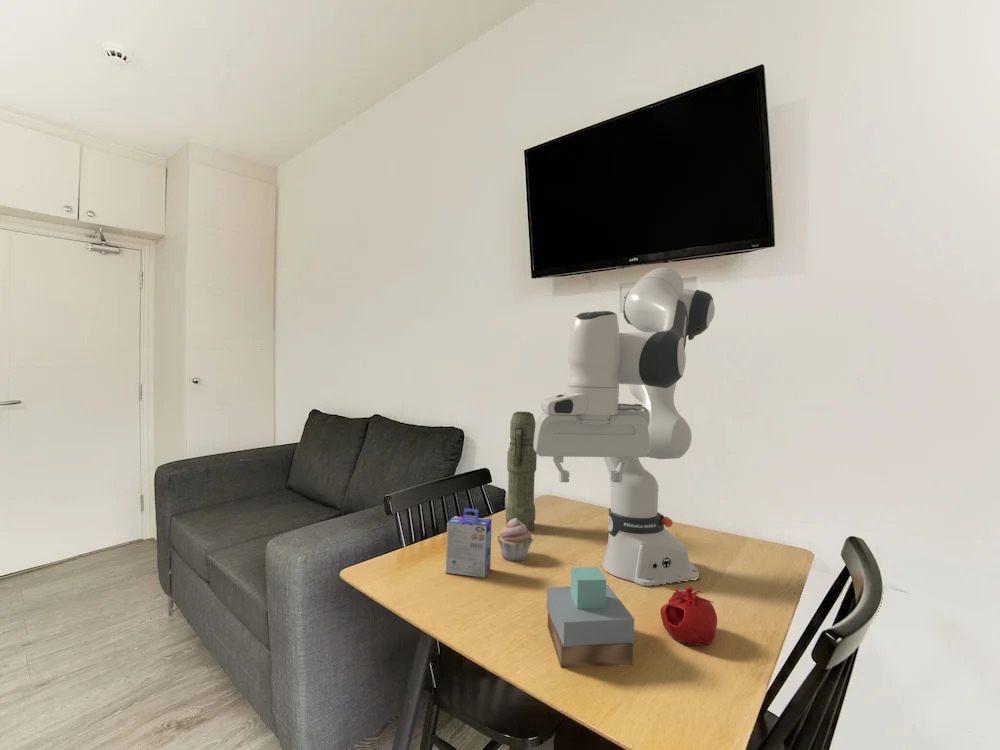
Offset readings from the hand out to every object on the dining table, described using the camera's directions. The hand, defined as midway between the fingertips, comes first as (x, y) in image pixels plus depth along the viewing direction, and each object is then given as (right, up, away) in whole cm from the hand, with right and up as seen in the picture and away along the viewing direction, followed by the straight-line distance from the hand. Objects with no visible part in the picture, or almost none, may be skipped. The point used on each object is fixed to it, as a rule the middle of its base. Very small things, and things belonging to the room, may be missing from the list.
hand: (590, 481), depth 82 cm
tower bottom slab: (0, -30, +1) cm, 30 cm away
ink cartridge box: (-23, -28, +29) cm, 46 cm away
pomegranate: (+19, -30, +4) cm, 36 cm away
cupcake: (-12, -28, +38) cm, 49 cm away
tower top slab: (0, -26, +1) cm, 26 cm away
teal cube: (0, -22, +1) cm, 22 cm away
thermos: (-10, -28, +60) cm, 66 cm away
